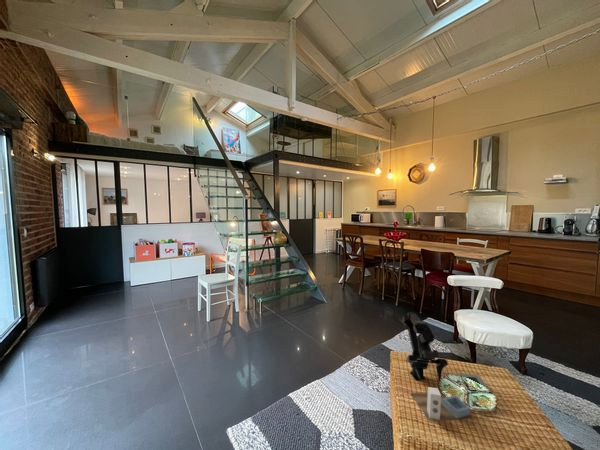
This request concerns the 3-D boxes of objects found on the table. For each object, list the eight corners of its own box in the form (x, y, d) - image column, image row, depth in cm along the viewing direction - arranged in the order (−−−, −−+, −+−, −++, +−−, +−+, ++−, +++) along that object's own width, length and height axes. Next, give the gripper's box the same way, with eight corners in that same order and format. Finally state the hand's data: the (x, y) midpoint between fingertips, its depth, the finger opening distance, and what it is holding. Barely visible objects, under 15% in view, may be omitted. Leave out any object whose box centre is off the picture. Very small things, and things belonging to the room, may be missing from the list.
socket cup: (442, 405, 120) (442, 398, 120) (454, 401, 122) (455, 395, 122) (456, 418, 113) (457, 411, 112) (469, 414, 115) (470, 407, 114)
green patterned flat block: (491, 396, 127) (491, 391, 127) (469, 393, 129) (469, 389, 129) (478, 378, 140) (478, 374, 140) (458, 376, 142) (458, 372, 142)
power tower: (426, 410, 117) (427, 386, 116) (436, 411, 116) (437, 388, 115) (429, 418, 113) (430, 394, 112) (439, 420, 112) (441, 395, 111)
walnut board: (409, 394, 128) (409, 393, 128) (447, 391, 130) (447, 390, 130) (430, 423, 111) (430, 422, 111) (473, 419, 113) (473, 418, 113)
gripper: (409, 341, 126) (413, 375, 117) (447, 345, 122) (455, 380, 113) (405, 345, 135) (409, 377, 125) (441, 349, 131) (447, 383, 121)
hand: (429, 379), depth 121 cm, fingers open, 9 cm apart
